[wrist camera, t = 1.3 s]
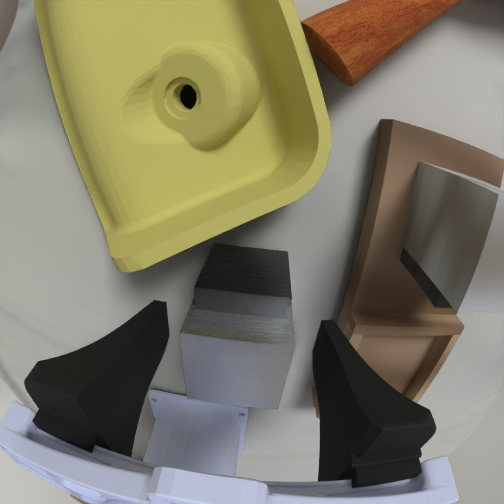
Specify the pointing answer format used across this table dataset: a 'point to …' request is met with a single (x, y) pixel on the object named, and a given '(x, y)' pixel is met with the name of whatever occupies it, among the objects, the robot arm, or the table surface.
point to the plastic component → (184, 114)
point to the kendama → (367, 32)
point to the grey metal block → (239, 328)
